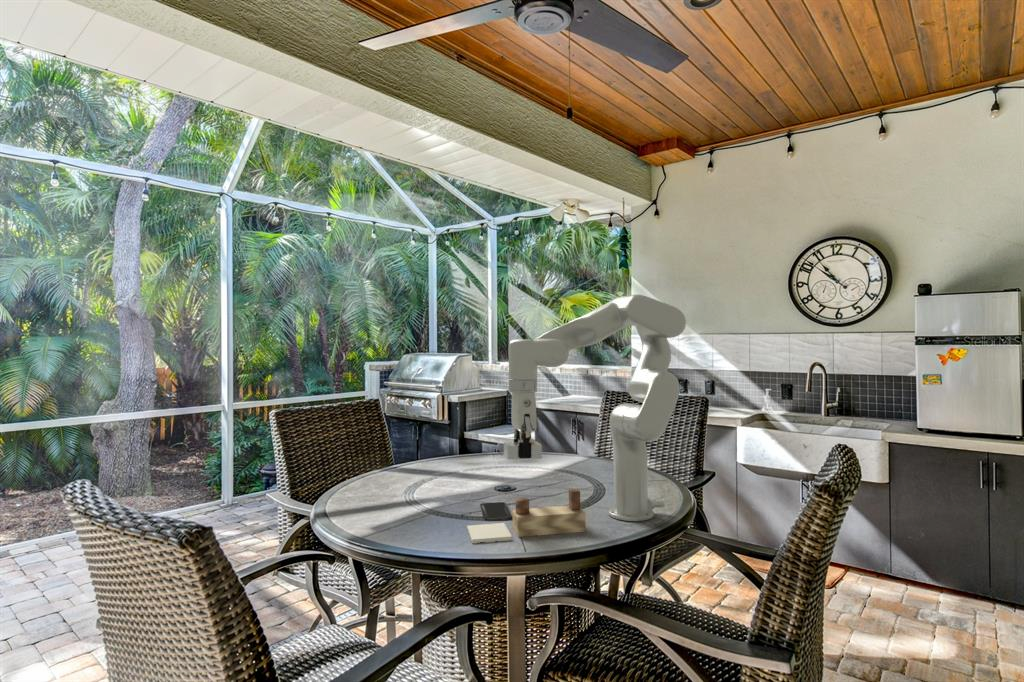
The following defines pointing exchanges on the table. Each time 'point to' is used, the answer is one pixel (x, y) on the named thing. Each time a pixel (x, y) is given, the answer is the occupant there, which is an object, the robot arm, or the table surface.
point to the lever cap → (513, 450)
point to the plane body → (549, 517)
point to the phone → (495, 511)
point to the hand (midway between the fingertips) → (522, 455)
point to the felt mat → (489, 533)
